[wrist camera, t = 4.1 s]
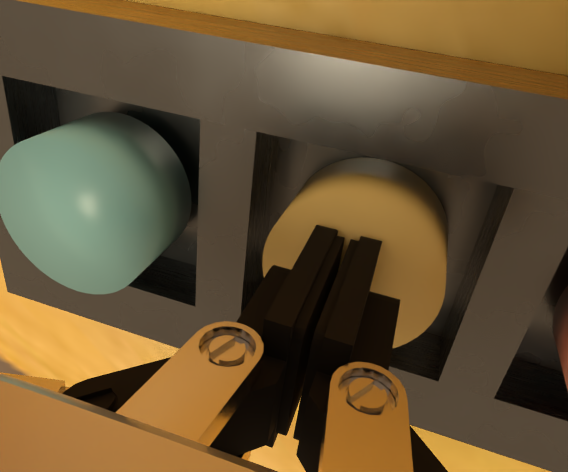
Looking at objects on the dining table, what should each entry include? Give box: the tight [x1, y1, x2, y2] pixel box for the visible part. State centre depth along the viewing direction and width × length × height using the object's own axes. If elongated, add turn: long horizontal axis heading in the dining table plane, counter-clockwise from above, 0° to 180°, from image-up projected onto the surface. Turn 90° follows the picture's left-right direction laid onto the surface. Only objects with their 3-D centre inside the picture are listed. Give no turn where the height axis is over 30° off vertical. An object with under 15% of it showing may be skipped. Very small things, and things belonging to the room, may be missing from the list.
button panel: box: [0, 0, 568, 472], centre depth 14 cm, size 24×10×3 cm, turn 84°
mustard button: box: [262, 157, 448, 348], centre depth 13 cm, size 5×5×3 cm
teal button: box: [0, 112, 191, 294], centre depth 14 cm, size 5×5×3 cm
